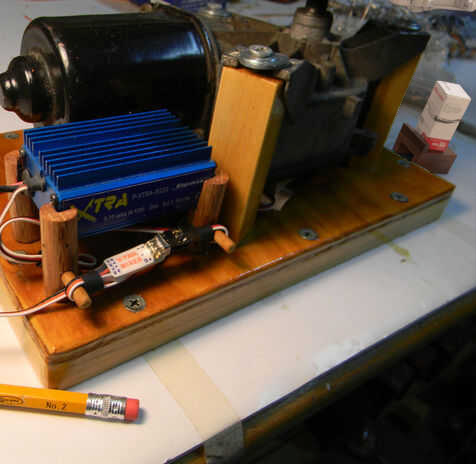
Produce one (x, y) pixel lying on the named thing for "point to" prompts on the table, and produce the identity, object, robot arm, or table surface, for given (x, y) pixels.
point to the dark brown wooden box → (423, 151)
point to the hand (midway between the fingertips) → (450, 6)
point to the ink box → (442, 114)
